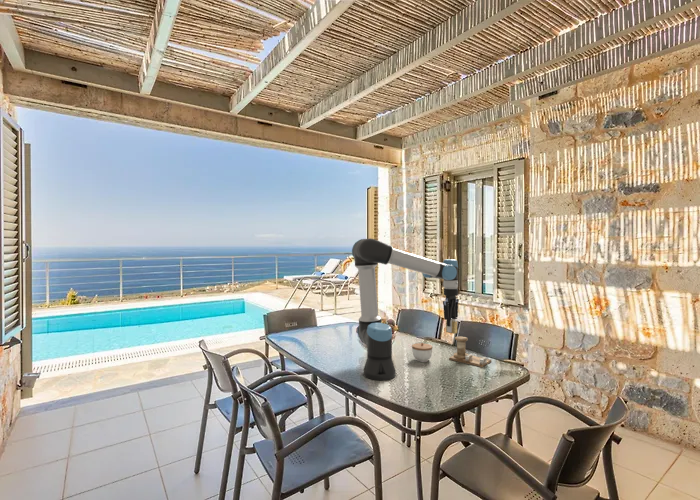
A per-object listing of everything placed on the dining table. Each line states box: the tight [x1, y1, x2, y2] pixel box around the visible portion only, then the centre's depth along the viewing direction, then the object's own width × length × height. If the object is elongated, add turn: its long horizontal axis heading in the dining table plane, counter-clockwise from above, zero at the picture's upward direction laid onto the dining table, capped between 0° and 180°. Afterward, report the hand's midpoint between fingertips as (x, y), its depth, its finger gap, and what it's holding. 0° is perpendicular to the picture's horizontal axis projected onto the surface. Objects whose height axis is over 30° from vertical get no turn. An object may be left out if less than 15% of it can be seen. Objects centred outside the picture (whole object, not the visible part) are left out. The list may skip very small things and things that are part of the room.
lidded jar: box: [411, 342, 433, 363], centre depth 189 cm, size 11×11×9 cm
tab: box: [445, 320, 458, 335], centre depth 191 cm, size 3×5×6 cm, turn 45°
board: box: [449, 353, 492, 368], centre depth 189 cm, size 12×18×4 cm, turn 47°
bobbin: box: [453, 335, 470, 359], centre depth 192 cm, size 8×8×10 cm
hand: (451, 331), depth 191 cm, fingers closed on tab, 3 cm apart
